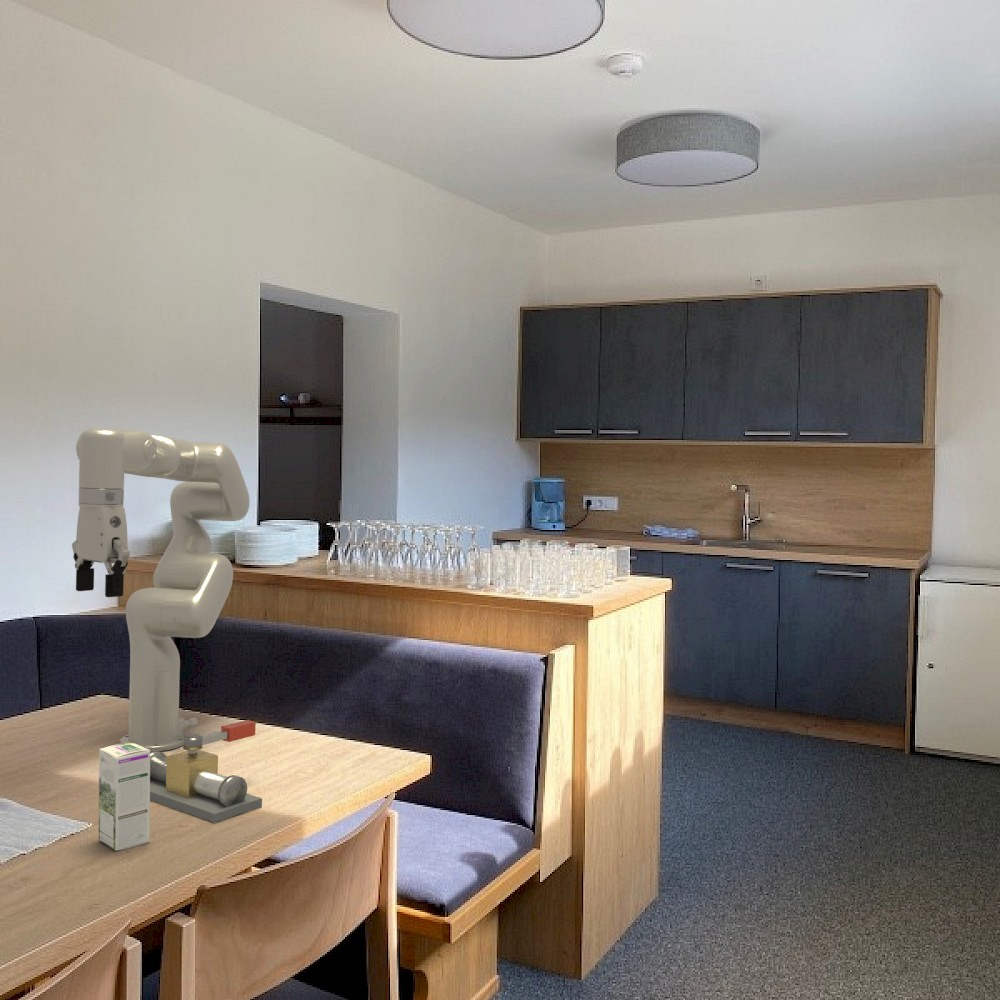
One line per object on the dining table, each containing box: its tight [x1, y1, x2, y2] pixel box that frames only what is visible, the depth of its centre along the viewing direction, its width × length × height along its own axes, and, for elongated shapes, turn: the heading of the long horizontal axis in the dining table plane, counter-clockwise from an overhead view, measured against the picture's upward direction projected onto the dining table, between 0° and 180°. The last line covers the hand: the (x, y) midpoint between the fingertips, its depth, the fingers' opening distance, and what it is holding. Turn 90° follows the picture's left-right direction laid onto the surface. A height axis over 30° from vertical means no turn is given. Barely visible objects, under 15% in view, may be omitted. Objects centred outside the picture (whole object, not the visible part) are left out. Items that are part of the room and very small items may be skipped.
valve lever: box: [182, 719, 257, 756], centre depth 182 cm, size 15×3×3 cm, turn 145°
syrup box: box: [98, 742, 151, 851], centre depth 157 cm, size 6×6×14 cm
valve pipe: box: [150, 749, 248, 807], centre depth 177 cm, size 6×22×7 cm, turn 55°
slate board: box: [150, 779, 263, 824], centre depth 177 cm, size 10×24×2 cm, turn 55°
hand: (99, 593), depth 186 cm, fingers open, 9 cm apart
